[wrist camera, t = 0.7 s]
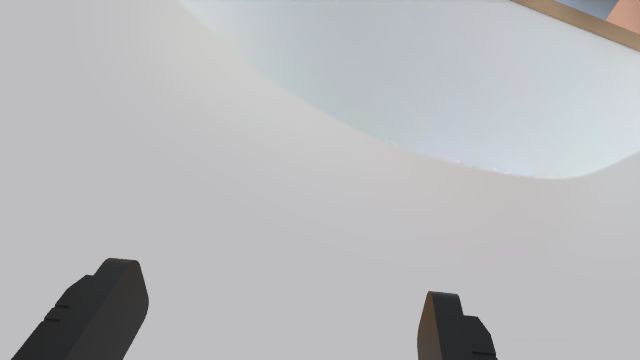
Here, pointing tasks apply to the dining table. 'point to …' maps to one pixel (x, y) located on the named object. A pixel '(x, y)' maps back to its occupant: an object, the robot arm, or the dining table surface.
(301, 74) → the dining table surface
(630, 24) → the wooden color swatch board
